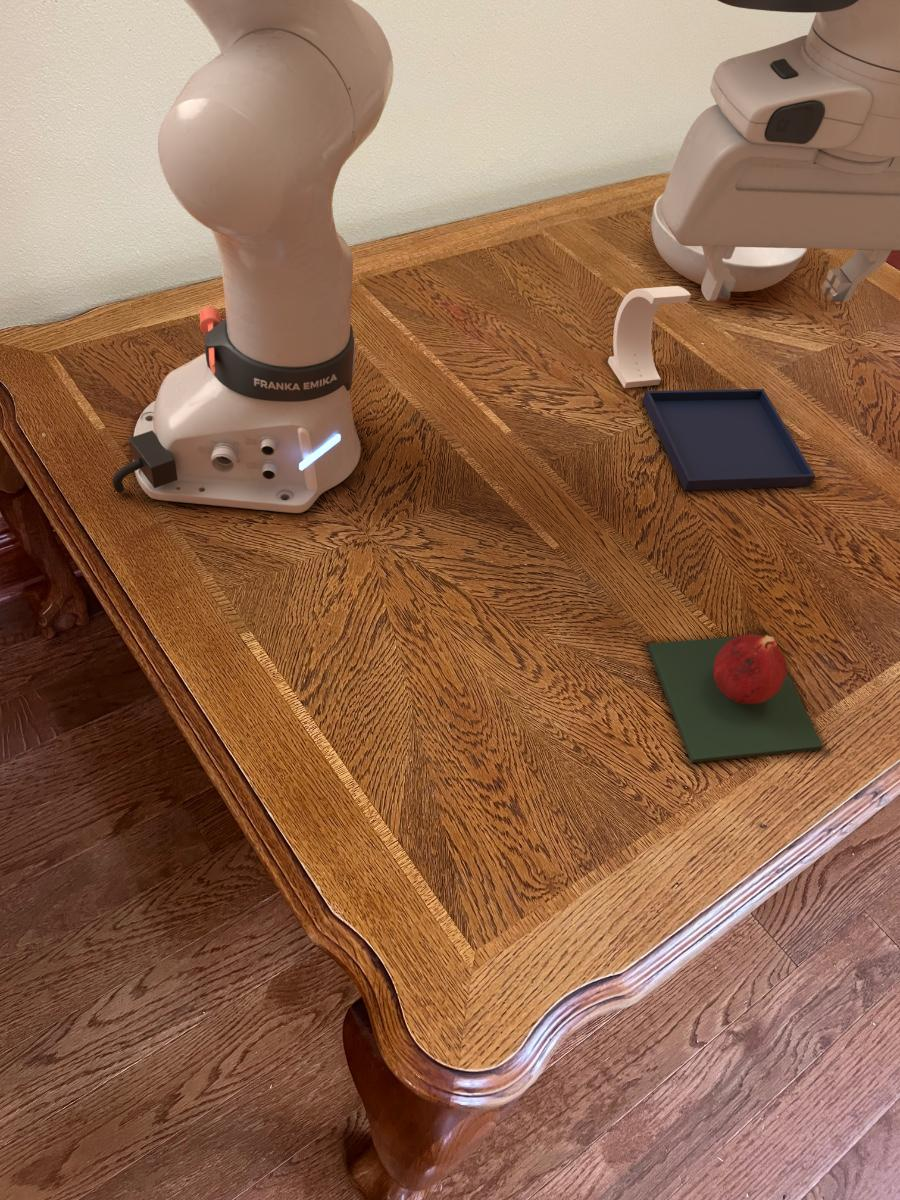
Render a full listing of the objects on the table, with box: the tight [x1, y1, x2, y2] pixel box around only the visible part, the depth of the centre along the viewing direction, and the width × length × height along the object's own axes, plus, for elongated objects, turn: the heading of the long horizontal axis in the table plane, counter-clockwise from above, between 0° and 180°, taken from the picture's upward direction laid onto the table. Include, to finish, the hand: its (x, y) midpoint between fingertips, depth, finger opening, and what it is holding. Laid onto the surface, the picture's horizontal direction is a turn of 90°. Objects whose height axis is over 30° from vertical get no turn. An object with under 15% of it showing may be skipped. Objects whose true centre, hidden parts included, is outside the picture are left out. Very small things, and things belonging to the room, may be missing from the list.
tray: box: [642, 388, 816, 492], centre depth 105 cm, size 15×15×2 cm
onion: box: [713, 633, 788, 704], centre depth 79 cm, size 6×6×8 cm
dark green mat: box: [646, 633, 824, 764], centre depth 83 cm, size 12×12×1 cm
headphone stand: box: [607, 285, 692, 389], centre depth 107 cm, size 5×6×12 cm
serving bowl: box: [650, 192, 809, 293], centre depth 127 cm, size 21×21×7 cm
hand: (774, 297), depth 67 cm, fingers open, 8 cm apart
